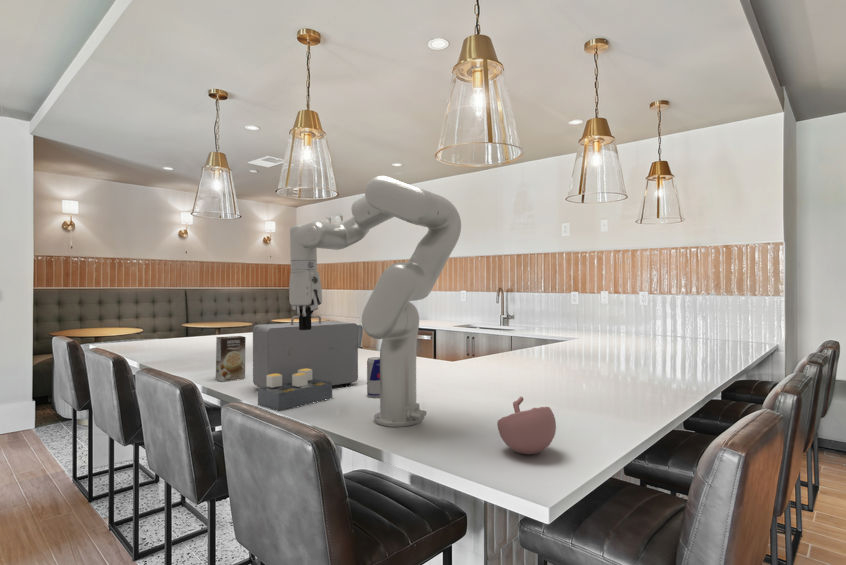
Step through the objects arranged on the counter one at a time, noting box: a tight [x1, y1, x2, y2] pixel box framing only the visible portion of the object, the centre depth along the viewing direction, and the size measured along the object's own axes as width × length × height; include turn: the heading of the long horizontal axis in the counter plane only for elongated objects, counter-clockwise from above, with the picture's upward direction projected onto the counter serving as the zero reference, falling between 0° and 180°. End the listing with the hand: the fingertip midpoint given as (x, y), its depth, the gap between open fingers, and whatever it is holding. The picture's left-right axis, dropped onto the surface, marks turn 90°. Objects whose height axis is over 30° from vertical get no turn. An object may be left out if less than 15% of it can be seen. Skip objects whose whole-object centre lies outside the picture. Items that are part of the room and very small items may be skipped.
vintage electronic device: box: [252, 314, 359, 388], centre depth 163 cm, size 32×18×25 cm, turn 126°
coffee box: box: [215, 335, 246, 383], centre depth 177 cm, size 9×6×16 cm
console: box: [257, 379, 333, 412], centre depth 142 cm, size 11×19×5 cm, turn 140°
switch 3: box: [292, 373, 308, 387], centre depth 141 cm, size 3×3×3 cm
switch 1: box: [267, 373, 282, 388], centre depth 140 cm, size 3×3×3 cm
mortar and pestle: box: [496, 396, 557, 455], centre depth 98 cm, size 12×12×12 cm
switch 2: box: [298, 368, 312, 381], centre depth 148 cm, size 3×3×3 cm
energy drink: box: [366, 356, 380, 399], centre depth 149 cm, size 5×5×12 cm
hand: (305, 329), depth 137 cm, fingers closed
